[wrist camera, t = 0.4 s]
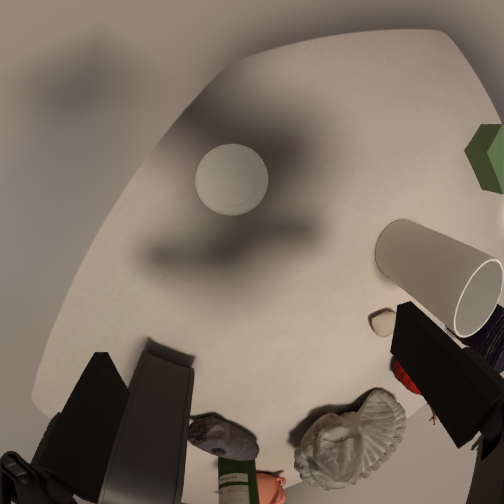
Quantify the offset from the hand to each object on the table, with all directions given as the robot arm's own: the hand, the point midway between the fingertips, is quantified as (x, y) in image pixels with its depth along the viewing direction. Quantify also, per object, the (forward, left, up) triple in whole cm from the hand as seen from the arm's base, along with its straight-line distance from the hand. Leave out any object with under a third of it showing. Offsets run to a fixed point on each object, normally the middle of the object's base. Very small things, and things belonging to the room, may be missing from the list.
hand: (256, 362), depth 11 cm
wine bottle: (+48, -9, -21) cm, 53 cm away
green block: (-8, +41, -21) cm, 47 cm away
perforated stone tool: (+35, -8, -21) cm, 41 cm away
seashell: (+40, +14, -21) cm, 48 cm away
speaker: (+24, -18, -21) cm, 37 cm away
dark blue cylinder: (+20, +39, -21) cm, 49 cm away
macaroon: (+16, +19, -21) cm, 32 cm away
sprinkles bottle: (-7, 0, -21) cm, 22 cm away
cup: (+5, +21, -21) cm, 30 cm away
